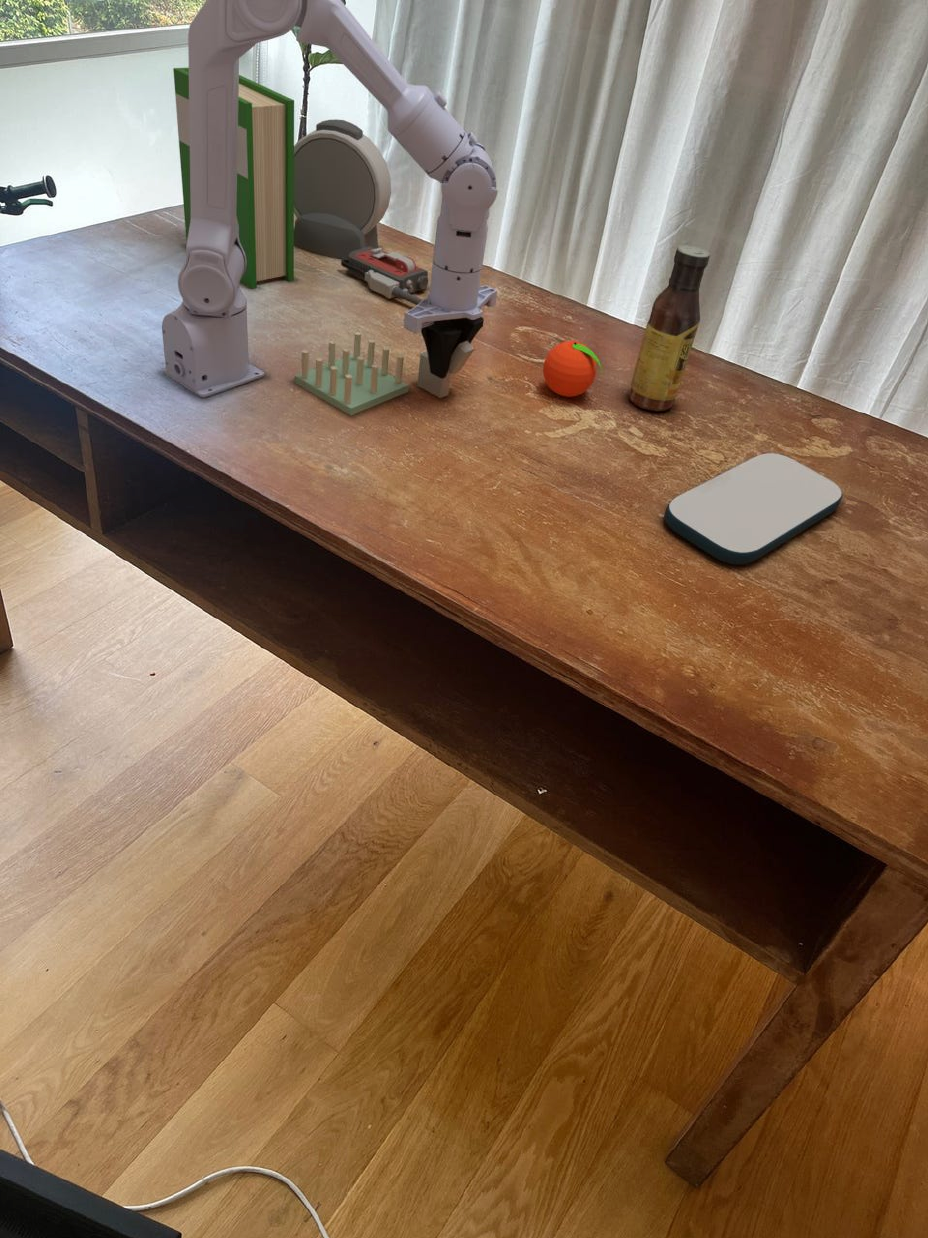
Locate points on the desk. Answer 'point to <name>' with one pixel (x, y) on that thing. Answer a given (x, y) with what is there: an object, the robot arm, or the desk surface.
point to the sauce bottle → (670, 333)
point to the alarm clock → (338, 190)
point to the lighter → (442, 385)
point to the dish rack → (352, 378)
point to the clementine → (570, 368)
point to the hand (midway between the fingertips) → (443, 372)
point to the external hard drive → (752, 507)
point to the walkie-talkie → (387, 273)
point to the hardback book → (254, 176)
